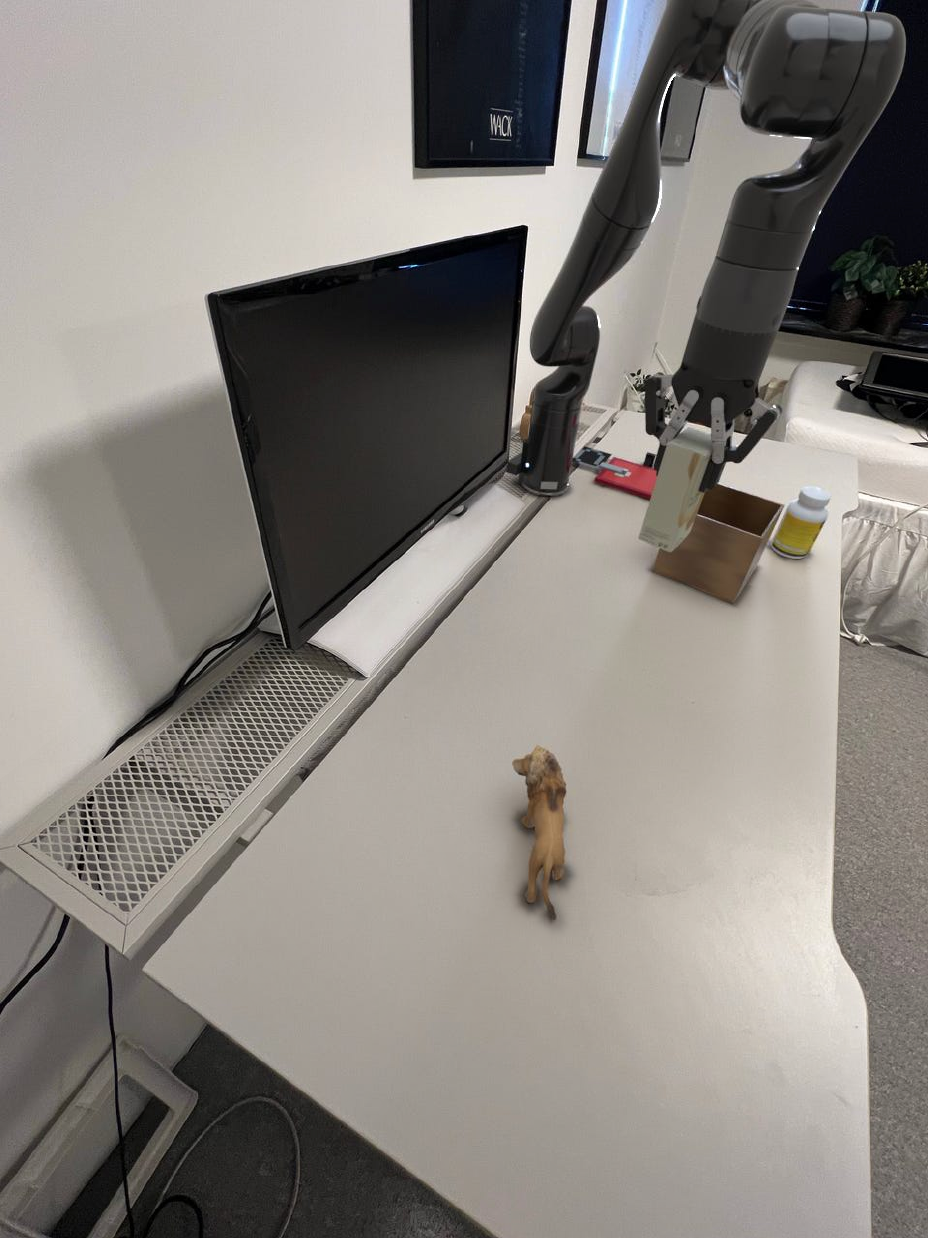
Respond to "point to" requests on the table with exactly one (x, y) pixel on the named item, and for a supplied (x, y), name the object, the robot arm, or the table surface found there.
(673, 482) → the cosmetic box
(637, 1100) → the table surface
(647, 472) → the red board with handle
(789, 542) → the pill bottle
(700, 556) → the carton
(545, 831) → the lion figurine
